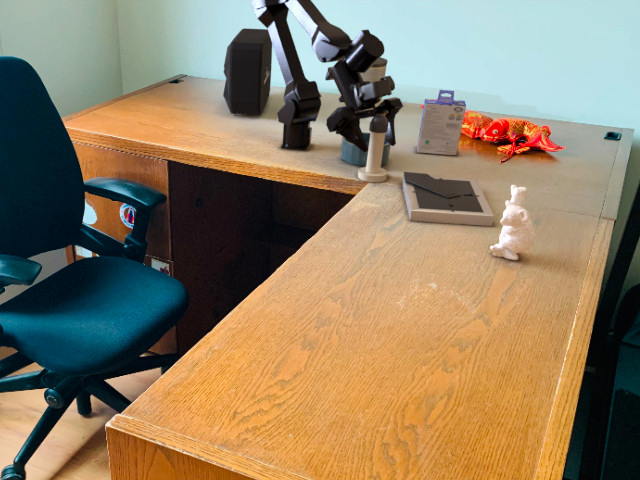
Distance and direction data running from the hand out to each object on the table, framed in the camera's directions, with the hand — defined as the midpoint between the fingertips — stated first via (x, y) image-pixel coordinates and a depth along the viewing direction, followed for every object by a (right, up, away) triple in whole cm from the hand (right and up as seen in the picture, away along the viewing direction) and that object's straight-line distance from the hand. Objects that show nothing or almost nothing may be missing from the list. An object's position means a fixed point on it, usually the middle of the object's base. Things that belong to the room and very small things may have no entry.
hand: (380, 148), depth 146 cm
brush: (-1, -5, +5) cm, 7 cm away
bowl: (-1, +2, +15) cm, 15 cm away
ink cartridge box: (+19, +6, +22) cm, 29 cm away
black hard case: (-29, +29, +56) cm, 70 cm away
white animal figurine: (+17, -27, -27) cm, 42 cm away
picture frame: (+12, -14, -8) cm, 20 cm away
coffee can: (+7, +28, +55) cm, 63 cm away
